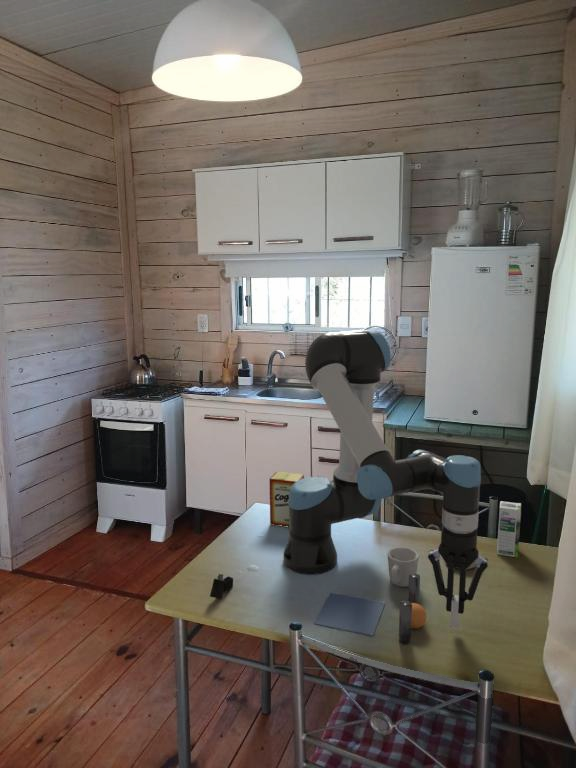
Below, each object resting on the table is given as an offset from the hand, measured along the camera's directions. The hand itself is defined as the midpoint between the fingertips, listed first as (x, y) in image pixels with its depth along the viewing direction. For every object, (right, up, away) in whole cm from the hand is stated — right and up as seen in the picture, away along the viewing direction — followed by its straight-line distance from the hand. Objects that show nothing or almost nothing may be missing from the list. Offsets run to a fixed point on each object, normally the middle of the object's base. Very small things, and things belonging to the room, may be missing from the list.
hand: (454, 624), depth 136 cm
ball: (-8, +1, +3) cm, 9 cm away
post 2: (-7, 0, +10) cm, 12 cm away
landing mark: (-23, -1, +9) cm, 24 cm away
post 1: (-12, -3, -2) cm, 12 cm away
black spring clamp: (-55, 0, +17) cm, 57 cm away
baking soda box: (-38, +9, +59) cm, 71 cm away
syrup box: (+26, +5, +38) cm, 46 cm away
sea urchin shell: (+11, +4, +32) cm, 34 cm away
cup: (-8, +2, +21) cm, 23 cm away
